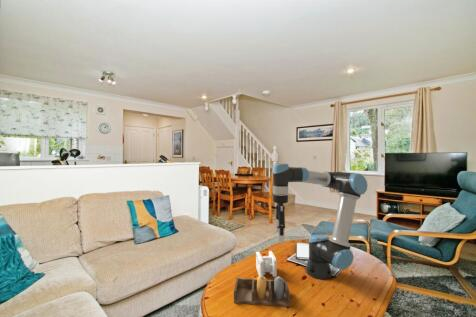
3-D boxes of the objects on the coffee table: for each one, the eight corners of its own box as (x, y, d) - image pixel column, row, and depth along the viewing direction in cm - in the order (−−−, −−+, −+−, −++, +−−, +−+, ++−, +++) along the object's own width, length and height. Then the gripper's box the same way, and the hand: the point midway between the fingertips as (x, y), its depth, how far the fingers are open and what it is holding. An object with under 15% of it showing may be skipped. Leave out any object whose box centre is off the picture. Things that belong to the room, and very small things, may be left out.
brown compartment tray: (286, 291, 117) (286, 280, 117) (289, 306, 105) (290, 294, 105) (236, 288, 119) (236, 277, 119) (233, 302, 107) (234, 290, 107)
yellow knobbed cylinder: (256, 293, 113) (257, 273, 113) (265, 294, 112) (266, 274, 112) (256, 298, 108) (257, 278, 108) (265, 299, 108) (266, 279, 108)
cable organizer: (277, 280, 128) (277, 260, 128) (259, 281, 127) (259, 260, 127) (271, 267, 142) (271, 249, 142) (255, 268, 142) (255, 250, 142)
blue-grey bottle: (273, 294, 112) (273, 274, 112) (282, 294, 112) (282, 275, 112) (274, 300, 107) (274, 279, 107) (284, 300, 107) (284, 280, 107)
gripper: (271, 190, 122) (270, 228, 122) (274, 198, 98) (274, 246, 98) (284, 190, 122) (284, 229, 122) (291, 199, 97) (291, 246, 97)
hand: (279, 236), depth 110 cm, fingers open, 13 cm apart
